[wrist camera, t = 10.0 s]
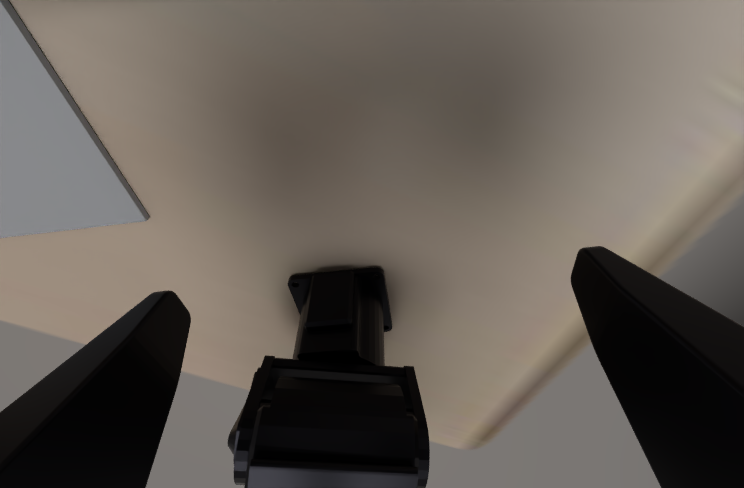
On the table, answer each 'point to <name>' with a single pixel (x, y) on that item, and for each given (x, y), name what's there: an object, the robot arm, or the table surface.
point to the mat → (50, 149)
